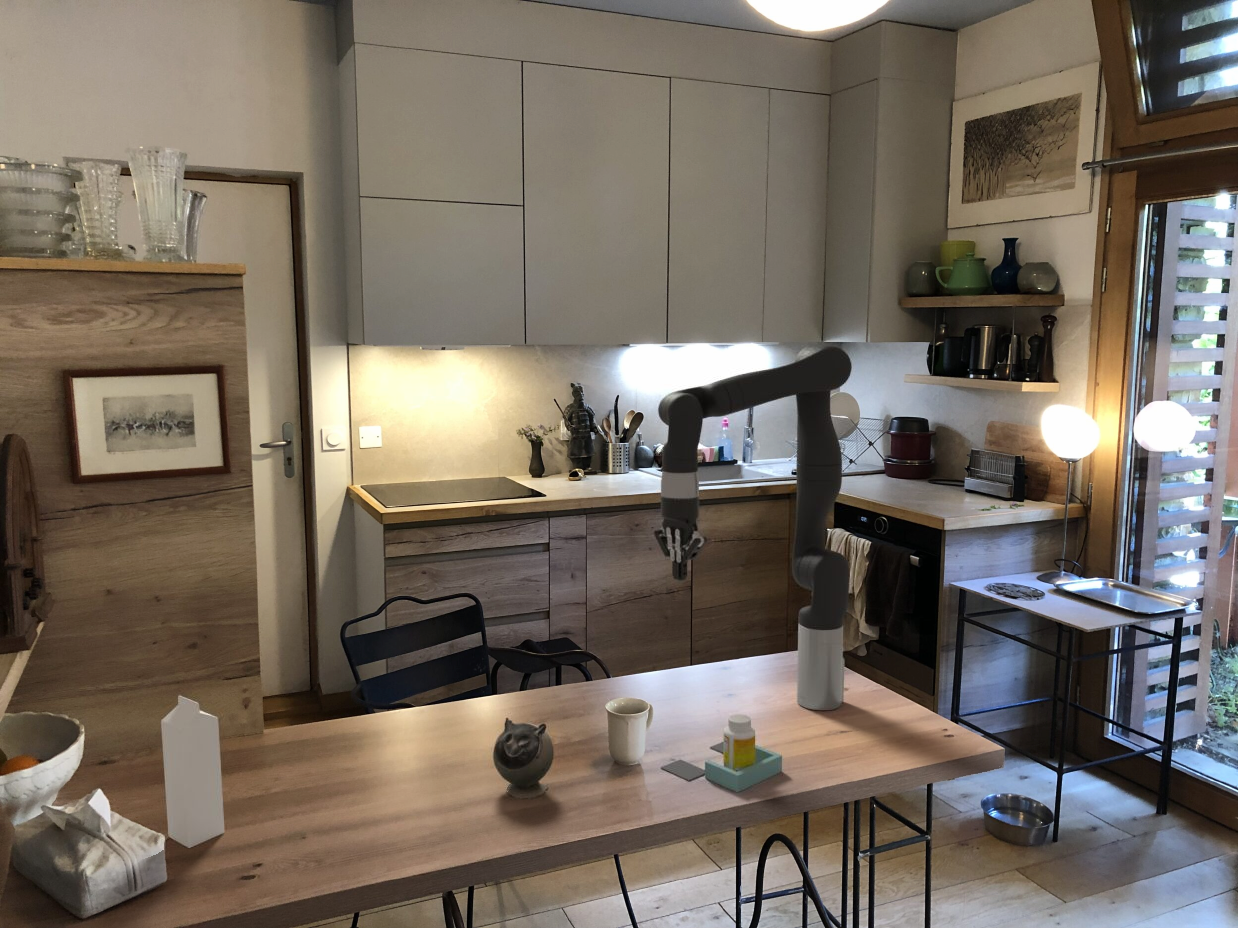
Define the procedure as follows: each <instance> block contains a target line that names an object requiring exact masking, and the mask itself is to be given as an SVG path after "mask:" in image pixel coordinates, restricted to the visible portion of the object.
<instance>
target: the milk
mask: <svg viewBox="0 0 1238 928" xmlns="http://www.w3.org/2000/svg"><path fill="white" fill-rule="evenodd" d="M177 701H178V702H177V703H178V704H177V705H176V706H175V707H174V708H173V709H172V710H171V711H170V712H169V713H168V714H166V716H164V717H163V718H162V719H161V721H160V723H161V725H160V726H161V741H162V755H163V769H164V770H163V771H164V774H163V775H164V786H165V787H164V788H165V801H166V802H165V803H166V817H167V832H168V837H169V839H172V840H174V841H175V842H178V843H179V844H180V845H182V846H184V847H186V848H189V849H191V848H193V847H195V846H197V845H200V844H202V843H204V842H206V841H209V840H211V839H213V838H216V837H217V836H220V835H223V834H224V833H225V820H224V819H225V817H224V816H225V815H224V814H225V813H224V801H223V781H222V780H223V779H222V768H221V767H222V764H221V747H220V746H221V745H220V731H219V730H220V728H219V727H220V726H219V717H217V716H216V715H215V716H214V715H213V714H210V713H207V712H205V711H203V710H200V704H199V702H197V701H194V700H192V699H189V698H187V697H184V696H182V695H178V697H177Z"/></svg>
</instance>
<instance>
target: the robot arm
mask: <svg viewBox="0 0 1238 928" xmlns="http://www.w3.org/2000/svg"><path fill="white" fill-rule="evenodd" d="M852 369H853V368H852V361H851V357H850V356H849V355H848V353H847V352H846V351H845V350H844V349H842V348H840V347H838V346H835V345H830V344H812V345H807V346H805V347H804V348H802V349H801V350H800V351H799V352H798V354H797V356H796V357H795V360H794V362H791V363H788V364H786V365H782V366H779V367H778V366H777V367H773V368H768V369H763V370H755V371H751V372H746V373H741V374H736V375H733V376H730V377H727V378H723V379H720V380H716V381H714V382H711V383H709V384H705V385H700V386H699V385H698V386H693V387H689V388H685V389H681V390H680V389H679V390H676V391H673V392H670V393H668V394H666V395H665V396H664V397H663V398H662V399H661V400H660V402H659V404H658V407H657V408H658V409H657V412H658V417H659V418H660V420H661V422H662V423H664V424H665V425H667V426H668V431H667V442H665V443H664V444H663V446H662V455H661V456H662V458H661V459H662V464H661V468H662V469H661V470H662V471H661V479H660V480H661V481H660V516H661V517H662V518H663V521H662V524H661V527H660V528H659V529H655V530H654V531H653V535H654V536H655V539H656V540H657V543H658V545H659V547H660V550H661V551H662V553H663V555H664V557H666V558H669V559H670V561H671V564H672V565H671V571H672V572H671V574H672V576H673V577H672V578H673V579H674V580H675V581H679V582H681V581H685V580H686V579H687V577H688V561H692V560H695V559H696V558H697V556H698V555H699V553H700V552H701V551H702V549H703V547H704V546H705V545H706V543H707V540H708V539H707V537H706V536H701V534H700V533H699V532H698V531H699V527H698V523H697V519H698V517H699V515H700V479H699V469H698V468H699V465H698V464H699V462H698V461H699V459H698V458H699V456H698V455H699V453H698V452H699V451H698V448H699V444H700V441H701V440H700V439H701V434H702V428H703V423H704V422H703V420H704V419H707V418H720V417H725V416H729V415H733V414H736V413H739V412H742V411H745V410H748V409H751V408H755V407H757V406H760V405H763V404H766V403H767V404H768V403H770V402H773V401H777V400H780V399H783V398H789V397H792V396H795V400H796V412H797V413H796V414H797V425H796V512H795V514H796V515H795V518H796V519H795V531H794V540H793V548H792V560H791V561H792V562H791V572H792V576H793V579H794V581H795V582H796V584H798V585H799V586H800V587H802V588H804V589H807V590H809V591H812V599H811V605H807V606H804V607H802V608H801V609H800V610H799V612H798V628H797V629H798V631H797V641H798V642H797V676H796V677H797V679H796V683H797V684H796V685H797V686H796V687H797V689H796V690H797V691H796V696H797V697H796V702H797V704H798V705H800V706H801V707H803V708H806V709H809V710H815V711H832V710H835V709H838V708H840V707H841V706H842V703H843V702H844V700H845V699H844V698H845V697H844V696H845V695H844V693H845V689H844V688H845V658H844V656H843V654H844V653H843V652H844V651H843V650H844V649H843V648H844V620H845V619H844V618H845V616H846V614H847V611H848V608H849V607H848V606H849V605H848V604H849V595H850V594H849V593H850V582H851V581H850V580H851V571H850V570H851V569H850V565H849V564H850V563H849V561H848V559H847V558H846V556H844V555H843V554H842V553H840V552H838V551H835V550H831V549H827V548H826V540H825V539H826V523H827V519H828V517H829V514H830V512H831V510H832V509H833V506H834V505H835V503H836V502H837V501H836V500H837V498H838V496H839V494H840V493H841V489H842V482H843V455H842V449H841V444H840V441H839V439H838V435H837V432H836V429H835V427H834V422H833V420H832V413H831V391H834V390H837V389H839V388H840V387H842V386H844V385H845V384H846V383H847V381H848V380H849V378H850V377H851V373H852Z"/></svg>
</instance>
